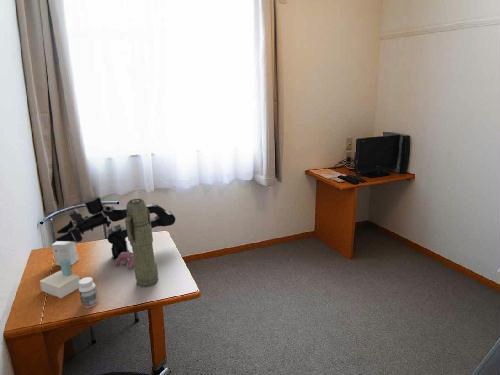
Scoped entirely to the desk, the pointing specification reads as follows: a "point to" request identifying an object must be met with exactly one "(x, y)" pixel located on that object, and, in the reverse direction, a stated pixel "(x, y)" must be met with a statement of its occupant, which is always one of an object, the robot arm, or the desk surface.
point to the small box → (65, 251)
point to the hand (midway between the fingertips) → (56, 236)
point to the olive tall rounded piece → (141, 242)
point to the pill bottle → (88, 292)
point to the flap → (61, 276)
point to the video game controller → (125, 259)
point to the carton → (61, 289)
